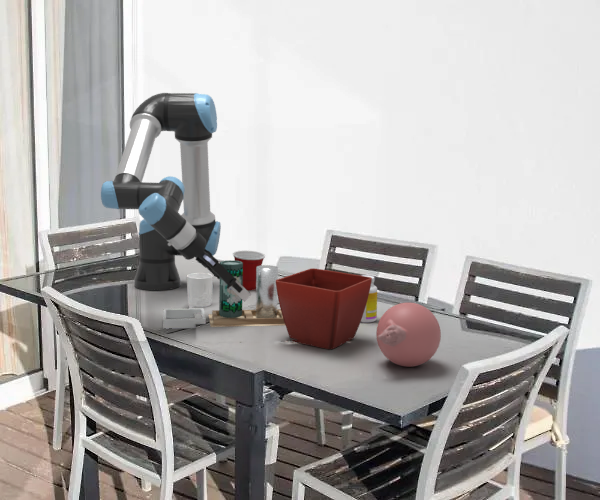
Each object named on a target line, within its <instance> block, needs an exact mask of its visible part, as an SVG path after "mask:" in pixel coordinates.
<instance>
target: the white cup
mask: <svg viewBox="0 0 600 500" xmlns="http://www.w3.org/2000/svg"><path fill="white" fill-rule="evenodd" d="M213 285H214V275H213V274H212V273H208V272H195V273H194V272H193V273H192V272H191V273H189V274H186V286H187V288H186V291H187V292H186V293H187V301H188V303H187V304H188V309H195V308H204V307H210V306H211V305H212V300H213V290H214V289H213ZM194 307H195V308H194Z"/></svg>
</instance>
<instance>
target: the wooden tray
mask: <svg viewBox="0 0 600 500" xmlns="http://www.w3.org/2000/svg"><path fill="white" fill-rule="evenodd" d="M208 319H209V325H210V328H219V327H220V328H221V327H222V328H227V327H228V328H230V327H268V326H269V327H271V326H272V327H273V326H276V327H277V326H281V327H282V326H283V327H284V326H286V325H285V322H284V319H283V316H282V312H281V308H279V309H278V308H277V318H256V309H242V316H240V317H237V318H227V317H226V318H225V317H221V316H220V315H219V309H218V310H215V309H214V310H211V313H210V314H208Z"/></svg>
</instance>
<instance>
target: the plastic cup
mask: <svg viewBox="0 0 600 500" xmlns="http://www.w3.org/2000/svg"><path fill="white" fill-rule="evenodd" d="M232 256H233V259H234V260H235V261H241V262H242V263H243V287H244V288H245V289H246V290H247V291H256V267H257V266H261V265H263V262H264V260H265V258H266V255H265V253H263V252H261V251H255V250H237V251H234V252H232Z"/></svg>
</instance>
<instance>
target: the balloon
mask: <svg viewBox="0 0 600 500" xmlns="http://www.w3.org/2000/svg"><path fill="white" fill-rule="evenodd" d="M441 335H442V334H441V327H440V323H439V321H438V319H437V318H436V316H435V314H434V312H432V311H431V310H430V309H428V307H426V306H424V305H422V304H419V303H416V302H401V303H397V304H395V305H393V306H391V307H390V308H388V309H387V310H386V311H385V312H384V313H383V314H382V316H381V317H380V319H379V321H378V324H377V325H376V335H375V336H376V342H377V345H378V348H379V350H380V351H381V353H382V354H383V356H384V357H385V358H386V359H387V360H388V361H390V362H392V363H393V364H395V365H397V366H400V367H407V368H409V367H417V366H421V365H423V364H426V362H428V361H429V360H431V358H433V357H434V356H435V354H436V353H437V351H438V349H439V347H440V343H441V338H442V336H441Z"/></svg>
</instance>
